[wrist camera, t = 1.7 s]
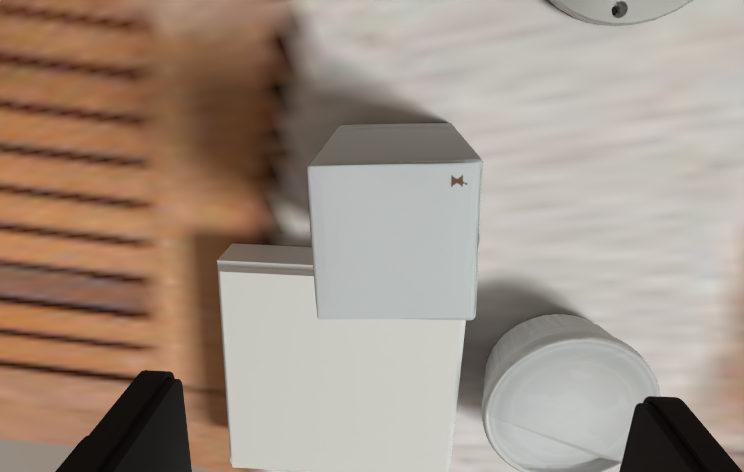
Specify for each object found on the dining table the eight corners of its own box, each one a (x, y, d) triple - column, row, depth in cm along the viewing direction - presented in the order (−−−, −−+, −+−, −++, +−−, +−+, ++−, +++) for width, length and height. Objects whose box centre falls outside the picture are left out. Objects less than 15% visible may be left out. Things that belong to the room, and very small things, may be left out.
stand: (232, 243, 35) (212, 265, 32) (464, 254, 35) (473, 278, 31) (242, 432, 40) (227, 471, 37) (444, 444, 40) (450, 484, 36)
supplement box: (336, 122, 32) (303, 158, 20) (454, 121, 32) (489, 157, 20) (340, 233, 35) (312, 322, 23) (449, 232, 34) (480, 324, 22)
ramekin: (481, 439, 40) (494, 493, 35) (461, 313, 36) (472, 353, 31) (629, 419, 39) (664, 472, 34) (623, 287, 35) (660, 324, 30)
